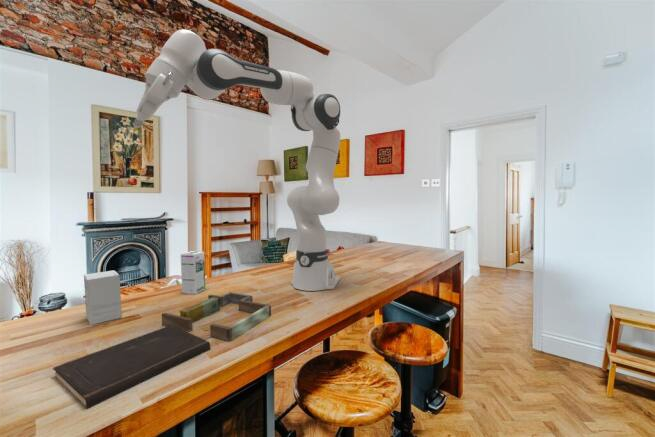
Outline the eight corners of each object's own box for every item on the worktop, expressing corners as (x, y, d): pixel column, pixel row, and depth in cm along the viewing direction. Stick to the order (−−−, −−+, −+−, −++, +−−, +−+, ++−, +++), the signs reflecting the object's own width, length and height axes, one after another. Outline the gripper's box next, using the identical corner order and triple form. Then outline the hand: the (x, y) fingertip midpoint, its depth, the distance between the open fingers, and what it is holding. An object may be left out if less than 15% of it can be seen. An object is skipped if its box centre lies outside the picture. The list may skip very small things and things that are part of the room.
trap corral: (220, 299, 100) (220, 290, 100) (279, 309, 91) (279, 300, 91) (162, 324, 80) (161, 313, 80) (229, 341, 71) (229, 329, 71)
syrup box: (196, 294, 105) (195, 253, 104) (181, 293, 106) (180, 253, 105) (205, 289, 111) (204, 251, 110) (191, 288, 112) (190, 250, 111)
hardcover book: (53, 379, 57) (53, 367, 57) (171, 333, 76) (171, 324, 76) (86, 412, 48) (86, 398, 48) (210, 351, 68) (210, 341, 67)
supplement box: (117, 310, 90) (115, 269, 89) (122, 318, 84) (120, 274, 83) (85, 317, 84) (83, 273, 83) (88, 325, 79) (86, 279, 78)
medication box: (213, 309, 92) (213, 296, 92) (220, 310, 91) (219, 297, 91) (179, 324, 81) (179, 310, 81) (186, 326, 80) (186, 311, 80)
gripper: (185, 78, 75) (157, 123, 72) (168, 98, 91) (144, 136, 88) (160, 59, 71) (129, 106, 68) (146, 83, 87) (121, 122, 84)
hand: (138, 123), depth 78 cm, fingers open, 8 cm apart
